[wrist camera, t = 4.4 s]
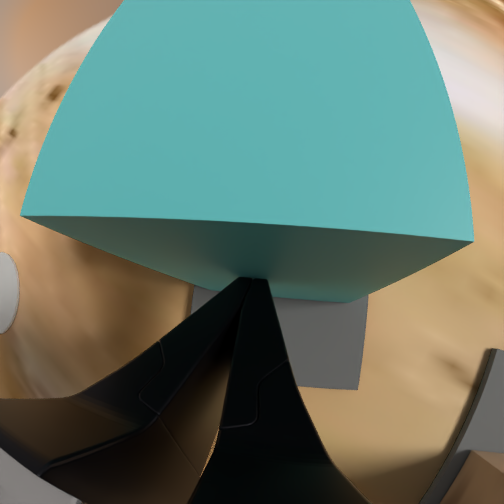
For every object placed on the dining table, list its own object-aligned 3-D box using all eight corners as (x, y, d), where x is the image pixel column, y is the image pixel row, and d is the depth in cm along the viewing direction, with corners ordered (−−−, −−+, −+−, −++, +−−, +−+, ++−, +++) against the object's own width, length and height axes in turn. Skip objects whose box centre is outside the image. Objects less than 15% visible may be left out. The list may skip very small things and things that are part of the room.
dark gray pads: (444, 604, 7) (445, 607, 6) (104, 237, 19) (99, 235, 18) (592, 466, 7) (595, 467, 6) (318, 71, 19) (317, 66, 18)
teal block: (348, 303, 15) (474, 241, 3) (210, 290, 16) (19, 215, 4) (353, 172, 16) (393, -30, 4) (228, 166, 17) (133, -12, 6)
